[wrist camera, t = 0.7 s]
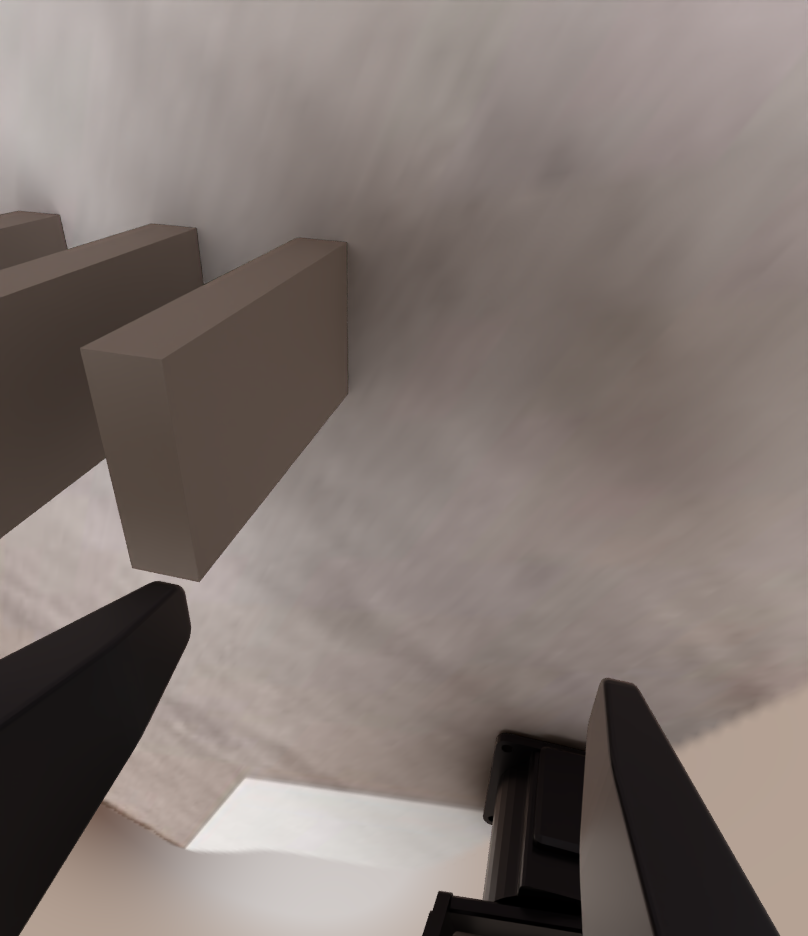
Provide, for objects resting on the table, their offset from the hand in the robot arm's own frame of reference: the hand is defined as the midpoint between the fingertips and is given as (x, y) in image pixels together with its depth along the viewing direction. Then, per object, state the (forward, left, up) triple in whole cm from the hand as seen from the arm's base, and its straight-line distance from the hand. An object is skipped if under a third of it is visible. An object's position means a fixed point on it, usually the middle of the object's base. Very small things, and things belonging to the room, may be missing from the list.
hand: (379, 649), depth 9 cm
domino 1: (0, +11, -13) cm, 17 cm away
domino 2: (0, +6, -13) cm, 14 cm away
